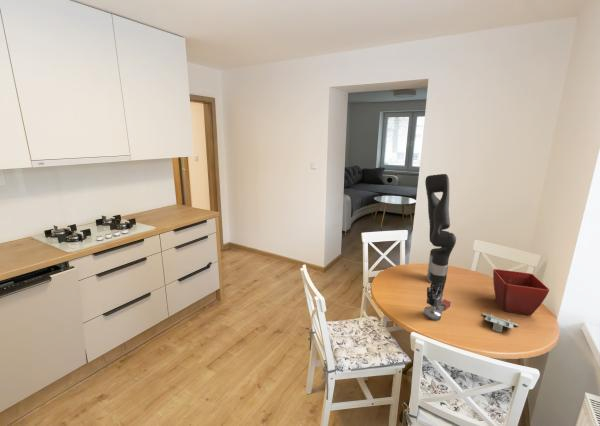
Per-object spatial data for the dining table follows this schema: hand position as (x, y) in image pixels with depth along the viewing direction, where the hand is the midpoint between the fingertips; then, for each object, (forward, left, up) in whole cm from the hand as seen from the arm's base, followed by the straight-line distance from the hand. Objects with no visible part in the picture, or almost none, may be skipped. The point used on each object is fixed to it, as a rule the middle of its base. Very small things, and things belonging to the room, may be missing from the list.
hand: (433, 302), depth 148 cm
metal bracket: (-19, +24, -8) cm, 31 cm away
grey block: (0, 0, 0) cm, 0 cm away
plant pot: (-43, +23, -8) cm, 49 cm away
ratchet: (-5, 0, -7) cm, 9 cm away
